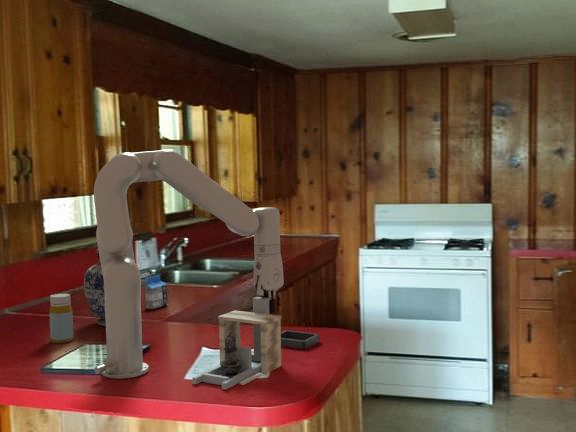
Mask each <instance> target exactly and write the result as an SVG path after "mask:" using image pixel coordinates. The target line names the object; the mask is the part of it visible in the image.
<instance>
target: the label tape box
mask: <svg viewBox="0 0 576 432" xmlns="http://www.w3.org/2000/svg"><path fill="white" fill-rule="evenodd" d="M152 279H153V280H152ZM144 291H145V292H144V293H145V294H144V295H145V308H146V309H147V310H154V309H159V308H161V307H165V305H166V306H169V304H168V303H169V302H168V286H167V284H166V283H165V282H163V281H161V274H157V275H153V276H148V277H145V278H144Z"/></svg>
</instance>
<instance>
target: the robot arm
mask: <svg viewBox="0 0 576 432" xmlns="http://www.w3.org/2000/svg"><path fill="white" fill-rule="evenodd" d="M160 180H161V181H163V182H165V183H166V184H167V185H168V186H170V187H171V188H173V189H174V190H175V191H176V192H178V193H179V194H180V195H182V196H183V197H185V199H187V200H188V201H189V202H191V203H192V204H194V205H195V206H197V207H199V208H201V209H203V210H205V211H207V212H208V213H210V214H211V215H213V216H215V217H216V218H218V219H219V220H220V221H222V222H224V223H225V226H226V228H228V230H229V231H231V232H232V233H235V234H238V235H239V236H243V237H249V236H251V235H253V245H254V246H253V247H254V248H253V249H254V250H253V252H254V261H253V288H254V290H256V295H257V296H260V297H264V298H269V314H271V315H272V314H273V313H275V309H276V307H275V300H276V296H277V295H276V293H277V291H279V289H281V288H282V287H283V286H284V284H285V283H284V282H285V281H284V278H285V277H284V267H283V266H284V265H283V260H282V254H281V226H280V225H281V224H280V223H281V222H280V221H281V220H280V219H281V217H280V216H281V215H280V211H279V209H278V208H277V207H271V206H269V207H268V206H267V207H266V206H264V207H257V208H251V207H250V206H249V207H248V205H247V204H245V203H244V202H243V201H241V200H240V199H239V198H237V197H236V196H235V195H233V194H232V193H231V192H229V191H228V190H227V189H225V188H224V187H223V186H221V185H220V184H219V183H217V181H215V180H214V179H212V178H211V177H210V176H208V175H207V174H206V173H204V171H202V170H201V169H199V168H198V167H197V166H195V165H194V164H193V163H191V161H189V160H188V159H186V158H185V157H184V156H182V154H180V153H179V152H177V151H176V150H174V149H170V148H167V149H160V150H152V151H139V152H121V153H118V154H115V155H114V156H112V157H111V159H110V160H108V161H107V162H106V163H105V164H104V165H103V167H101V169H100V171H99V172H98V174H97V176H96V179H95V182H94V186H93V202H94V207H95V208H94V209H95V217H96V225H97V228H96V234H95V235H96V243H97V249H98V250H99V257H100V259H99V260H100V263H101V269H102V274H103V278H104V294H105V319H106V326H105V338H106V339H105V341H106V358H104V359H103V360H104V361H103V362H104V363H102V364H100V365H98V366H95V367H94V370H93V371H94V373H95V375H96V374H97V375H99V374H101V375H102V376H103V377H105V378H109V379H115V380H117V379H122V380H123V379H130V378H136V377H140V376H143V375H145V374H146V373H148V372H149V370H150V366H149V364H148V363H146V362H144V361H143V358H144V357H143V330H142V329H143V328H142V307H141V305H142V304H141V303H142V301H141V297H142V296H141V293H142V292H141V291H142V276H141V272H140V268H139V266H138V265H137V263H136V260H135V253H134V246H133V239H134V232H133V229H132V225H131V219H130V215H129V207H128V200H127V199H128V196H127V194H128V189H129V187H130V185H132V184H133V183H142V182H144V183H145V182H154V181H160Z"/></svg>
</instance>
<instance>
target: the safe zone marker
mask: <svg viewBox="0 0 576 432" xmlns="http://www.w3.org/2000/svg"><path fill="white" fill-rule="evenodd" d="M261 376H263V373H261V372H258V373H256V374H255V375H253V376H251V377H249V378H247V379H245V380H243V381H241V382H239V385H242V386H244V385H247V384H248V383H250V382H252V381H254V380H255V379H257V378H259V377H261Z"/></svg>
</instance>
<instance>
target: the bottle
mask: <svg viewBox="0 0 576 432" xmlns="http://www.w3.org/2000/svg"><path fill="white" fill-rule="evenodd" d="M49 302H50V307H49V313H48V314H49V331H50V333H49V334H50V341H51V342H52V343H54V344H66V343H70V342H72V340H73V339H74V322H73V320H74V319H73V307H72V305H71V294H70V293H56V294H50V296H49Z"/></svg>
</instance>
